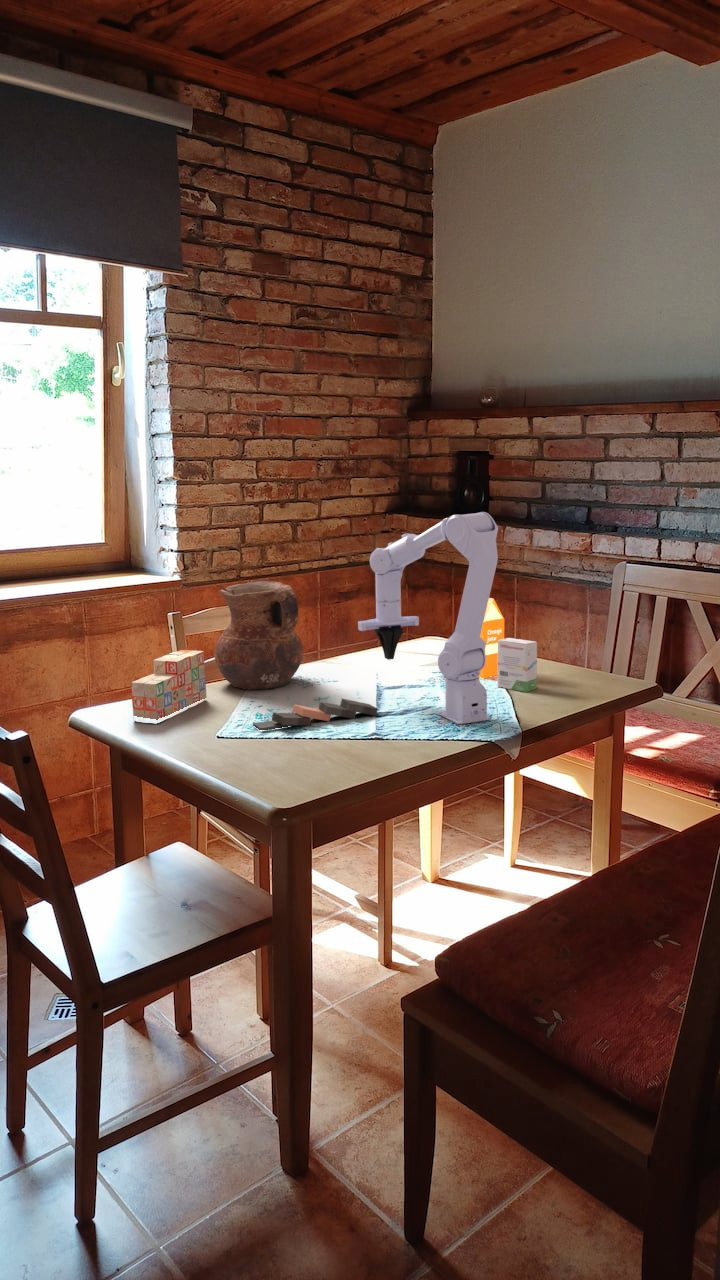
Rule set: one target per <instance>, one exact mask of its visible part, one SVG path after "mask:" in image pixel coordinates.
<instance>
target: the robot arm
mask: <svg viewBox="0 0 720 1280" xmlns="http://www.w3.org/2000/svg"><path fill="white" fill-rule="evenodd" d="M498 532H499V526H498V524H497V523H496V522H495V520H494V517H493V516H491V515H490V514H489V513H488V512H485V511H480V512H476V513H467V514H466V513H465V514H453V515H450V516H449V517H446V518H443V519H442V520H441V521H439V522H438V523H436V524H435V525H433V526H432V527H429V528H428V529H426V531H423V532H422V533H421V534H414V533H404V534H402V535H401V538H400V539H398V540H396V541H394V542H393V541H391V542H389V543H387V546H386V547H384V548H381V547H380V548H379V547H377V548H375V549H374V550H373V551H372V552H371V554H370V556H369V565H370V569H371V570H372V572H373V573H374V574H375V576H374V577H375V578H374V579H375V580H374V581H375V614H376V616H375V618H372V619H367V620H359V621H357V629H358V630H359V631H361V632H365V631H370V630H374V632H375V634H376V636H377V637H378V639H379V641H380V645H381V647H382V651H383V655H384V659H386V660H387V661H388V660H389V661H391V660H395V658H394V657H395V654H396V650H397V646H398V644H399V641H400V639H401V638H402V635H403V634H404V628H402V627H409V626H410V627H411V626H415V627H416V626H419V625H420V617H419V616H416V615H413V616H412V615H411V616H409V615H408V616H407V615H406V616H402V595H401V594H402V593H401V592H402V591H401V590H402V589H401V588H402V586H401V585H402V581H401V579H402V577H403V573H404V572H403V571H404V569H405V567H406V566H408V565H409V564H411V563H413V562H416V561H417V560H419V559H421V558H423V557H424V555H425V554H426V549H430V548H431V547H433V546H436V545H437V544H440V543H442V542H444V541H449V543H450V544H451V545H452V546H453V547H454V548H455V549H456V550H457V551H458V552H459V553H460V554H461V555H462V556H464V558H466V559H467V561H468V562H469V563H468V570H467V573H466V578H465V583H464V587H463V591H462V592H463V593H462V595H461V596H462V597H461V601H460V606H459V610H458V615H457V619H456V624H455V629H454V632H453V633H452V635H450V637H448V639H447V640H446V641H445V642H444V647H443V649H442V651H441V652H440V653H439V655H438V658H437V665H438V669H439V672H440V673H441V674H442V675H443V679H445V685H444V686H445V710H442V711H438V712H437V715H440V716H441V717H443V718H445V719H447V720H448V721H450V722H452V723H454V724H457V725H462V724H470V723H478V722H483V721H485V722H486V721H490V720H491V717H490V716H488V715H487V714H488V712H487V709H488V706H487V705H488V702H487V701H488V698H487V697H488V694H487V693H488V692H487V689H486V687H485V686H484V685H483V684H482V683H481V681H480V678H479V675H481V670H482V669H483V668H484V666H485V664H486V654H485V647H486V642H485V641H484V640H483V639H482V638H481V637H480V635H481V630H482V626H483V622H484V617H485V613H486V609H487V604H488V600H489V598H490V595H491V591H492V588H493V582H494V576H495V575H496V574H495V573H496V569H497V564H498V558H499V556H498V555H499V554H498V548H497V535H498Z"/></svg>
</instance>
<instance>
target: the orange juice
mask: <svg viewBox="0 0 720 1280" xmlns="http://www.w3.org/2000/svg"><path fill="white" fill-rule="evenodd" d="M480 637H481V638H482V639H483V640H484V641H485V642H486V647H485V654H486V664H485V666H484V668H483V669H482V670H481V675H479V677H481V678H480V679H482V678H485V679H487V678H486V677H489V678H491V677H490V676H494V675H498V641H499V640H501V639H505V618H504V616H503V614H502V613H501V611H500V609H499V606H498V605H497V602H496V600H495V599H494V598H492V597H489V600H488V604H487V609H486V613H485V617H484V622H483V626H482V630H481V635H480ZM494 677H495V676H494Z"/></svg>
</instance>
